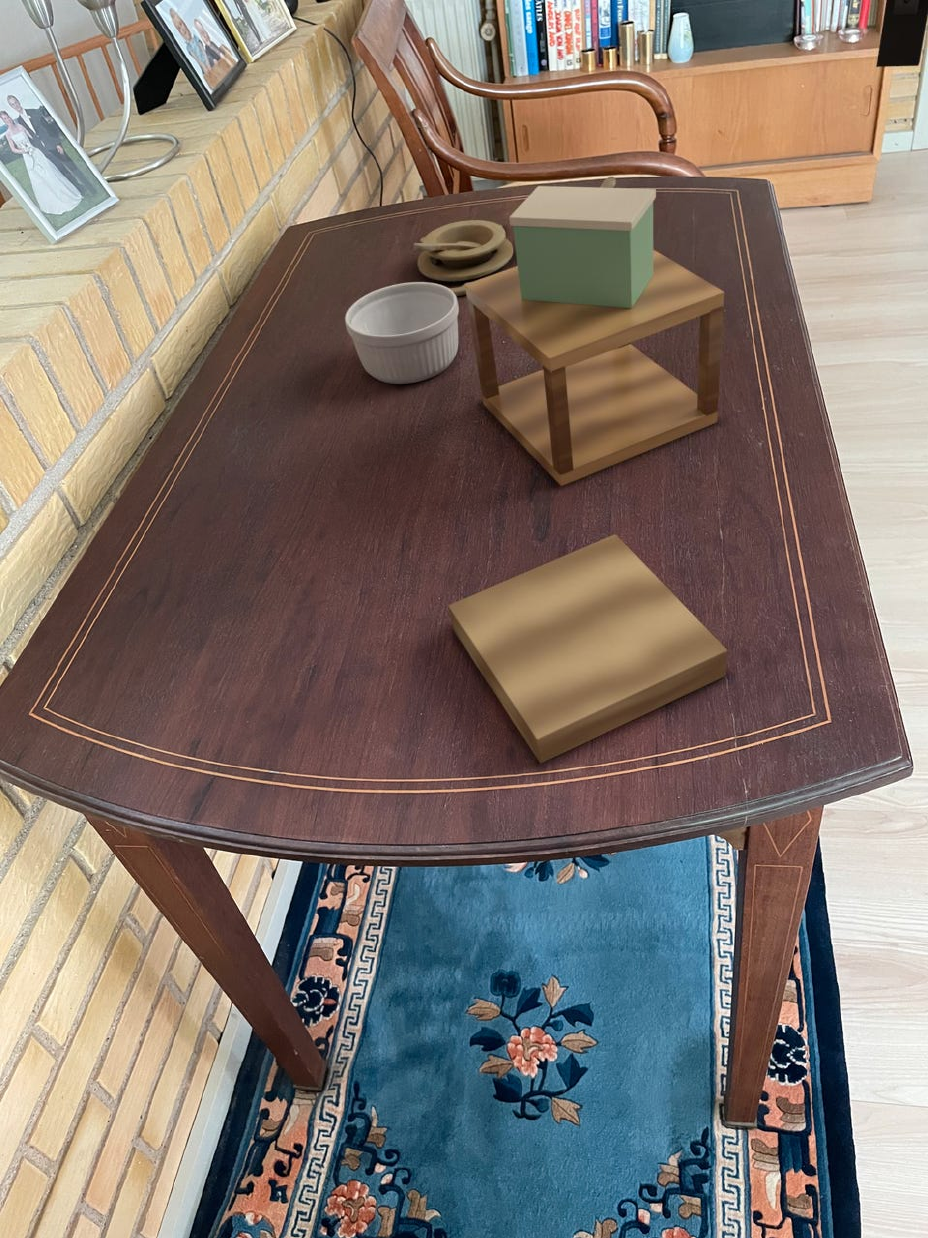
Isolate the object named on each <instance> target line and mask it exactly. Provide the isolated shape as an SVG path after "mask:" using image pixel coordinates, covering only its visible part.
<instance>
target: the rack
mask: <svg viewBox="0 0 928 1238" xmlns="http://www.w3.org/2000/svg"><path fill="white" fill-rule="evenodd" d="M470 282H471V283H469V282H467V283H468V284H465V283H464V284H465V289H466V301H467V308H468V314H469V319H470V320H469V321H470V328H471V333H472V339H473V345H474V352H475V358H476V365H477V371H478V377H479V383H480V390H481V396H482V403H483V406H484V407H485V408H486V409H487V410H488V411H489V412H490V413H491V414H492V415H493V416H494V417H495V418H496V419H497V420H498V421H499V423H501V425H502V426H504V428H505V429H506V430H507V431H508V432H509V433H510V434H511V435H512V436H513V437H514V438H515V440H517V442H519V443H520V444H521V446H522V447H523V448H524V449H525V450H526V451H527V452H528V453H529V454H530V455H531V456H532V457H533V458H534V459H535V460H536V461H537V462H538V463H539V465H541V467H542V468H543V469H544V470H545V471H546V472H547V473H548V474H549V475H550V476H551V477H552V478H553V479H554V481H556V483H558V484H559V486H561V487H563V486H565V485H568V484H570V483H573V482H575V481H578V480H580V479H583V478H585V477H588V476H590V475H592V474H595V473H597V472H599V471H602V470H605V469H607V468H610V467H613V466H614V465H617V464H620V463H622V462H624V461H626V460H629V459H631V458H634V457H636V456H638V455H641V454H644V453H645V452H646V453H647V452H648V451H650V450H653V449H656V448H658V447H660V446H663V445H665V444H668V443H670V442H673V441H675V440H678V439H681V438H682V437H685V436H687V435H690V434H692V433H695V432H697V431H699V430H702V429H704V428H707V427H709V426H711V425H714V424H717V423H718V419H719V418H718V415H719V398H720V397H719V395H720V376H721V361H722V340H723V339H722V338H723V321H724V305H725V304H724V302H725V291H724V290H721V289H720V288H718V287H717V286H716V285H714V284H712V283H710V282H708V281H707V280H706V279H703V278H702V277H700V276H699V275H698V274H697V275H696V274H695V273H693V272H691V270H689V269H687V268H686V267H683V266H682V265H680V264H678V263H677V262H675V261H674V260H672V259H670V258H668V257H667V256H665V255H663V254H662V253H660V252H659V251H657V250H655V249H653V277H652V278H651V280H650V281H649V283H648V284H647V286H646V287H645V289H644V291H643V292H642V294H641V295H640V297H639V298H638V300H637V301H636V303H635V304H634V306H633V307H632V308H619V307H606V306H594V305H582V304H569V303H557V302H544V301H532V300H522V299H521V291H520V282H519V273H518V265H516V266H513V267H511V268H507V269H505V270H502V271H499V272H497V273H494V274H490V275H487V276H485V277H483V278H482V277H481V278H480V279H477V280H474V281H470ZM698 317H699V338H698V339H699V340H698V341H699V342H698V346H699V347H698V367H697V368H698V369H697V370H698V371H697V393H696V392H695V391H694V390H692V389H691V388H689V387H688V386H687V385H686V384H684V383H683V382H682V381H680V379H677V378H676V377H675V376H674V375H672V374H671V373H670V372H668V371H667V370H666V369H664V367H662V366H660V365H659V364H657V362H655V361H654V360H653V359H651V358H650V357H648V355H645V353H644V352H642V351H640V350H639V349H638V348H636V347H635V346H633V345H632V343H634V342H636V341H638V340H641V339H644V338H646V337H649V336H652V335H654V334H657V333H660V332H662V331H665V330H667V329H670V328H672V327H675V326H677V325H680V324H683V323H685V322H688V321H691V320H693V319H696V318H698ZM490 321H492V322H493V323H494V324H495V325H496V326H497V327H498V328H500V330H502V331H503V332H504V333H505V334H506V335H507V336H508V337H509V338H511V340H513V341H514V342H515V343H516V344H517V345H519V347H521V348H522V349H523V350H524V351H525V352H526V353H527V354H528V355H529V356H531V357H532V358H533V359H534V360H535V361H536V362H538V363H539V365H541V366H542V369H540V370H538V371H536V372H533V373H530V374H527V375H524V376H522V377H520V378H517V379H514V380H512V381H509V382H507V383H504V384H501V385H499V381H498V373H497V367H496V360H495V353H494V352H495V351H494V346H493V337H492V331H491V325H490Z"/></svg>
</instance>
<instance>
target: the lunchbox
mask: <svg viewBox="0 0 928 1238" xmlns="http://www.w3.org/2000/svg"><path fill="white" fill-rule="evenodd" d="M656 198H657V189H656V188H630V187H629V188H627V187H614V188H600V187H591V186H590V187H588V186H557V185H553V186H552V185H538V186H537V187H536V188H535V189H534V190H533V191H532V192H531V193H530V194H529V195H528V196H527V197H526V198H525V200H523V202H521V204H520V205H519V206H518V207H517V208H516V209H515V210H514V211H513V212H512V213H511V214H510V216H509V217H508V218H509V219H508V220H509V226H510V227H511V226H513V236H514V246H515V254H516V255H515V256H516V263H517V264H516V265H517V266H518V273H519V282H520V291H521V299H522V300H532V301H544V302H557V303H569V304H582V305H594V306H606V307H619V308H632V307H633V306H634V304H635V303H636V301H637V300H638V298H639V297H640V295H641V294H642V292H643V291H644V289H645V287H646V286H647V284H648V283H649V281H650V280H651V278H652V277H653V250H654V201H655V200H656Z"/></svg>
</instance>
